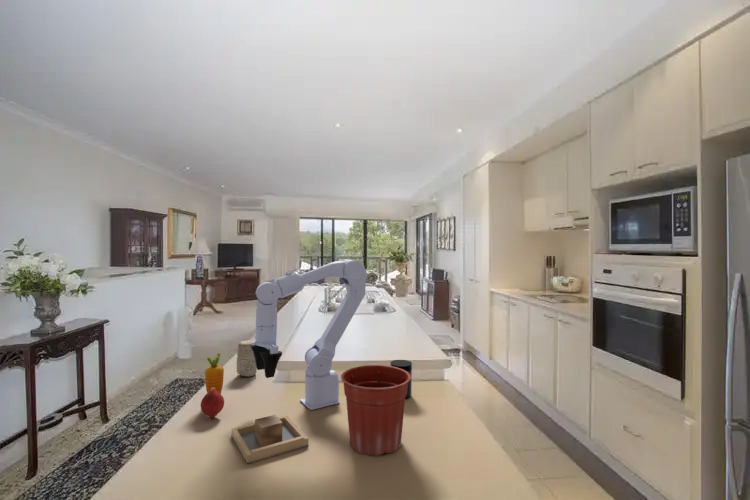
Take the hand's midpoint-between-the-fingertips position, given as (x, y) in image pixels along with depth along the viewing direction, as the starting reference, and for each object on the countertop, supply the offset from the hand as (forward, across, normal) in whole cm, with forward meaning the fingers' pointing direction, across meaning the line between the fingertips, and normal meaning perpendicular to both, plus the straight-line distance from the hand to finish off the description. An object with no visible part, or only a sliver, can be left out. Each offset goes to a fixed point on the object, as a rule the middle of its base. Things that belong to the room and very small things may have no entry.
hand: (265, 373), depth 108 cm
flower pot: (+10, +32, +16) cm, 37 cm away
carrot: (+11, -11, -11) cm, 19 cm away
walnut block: (+10, +18, -5) cm, 21 cm away
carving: (+11, -31, +4) cm, 33 cm away
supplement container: (+10, +13, +38) cm, 42 cm away
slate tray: (+10, +18, -4) cm, 21 cm away
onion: (+11, -3, -13) cm, 17 cm away
